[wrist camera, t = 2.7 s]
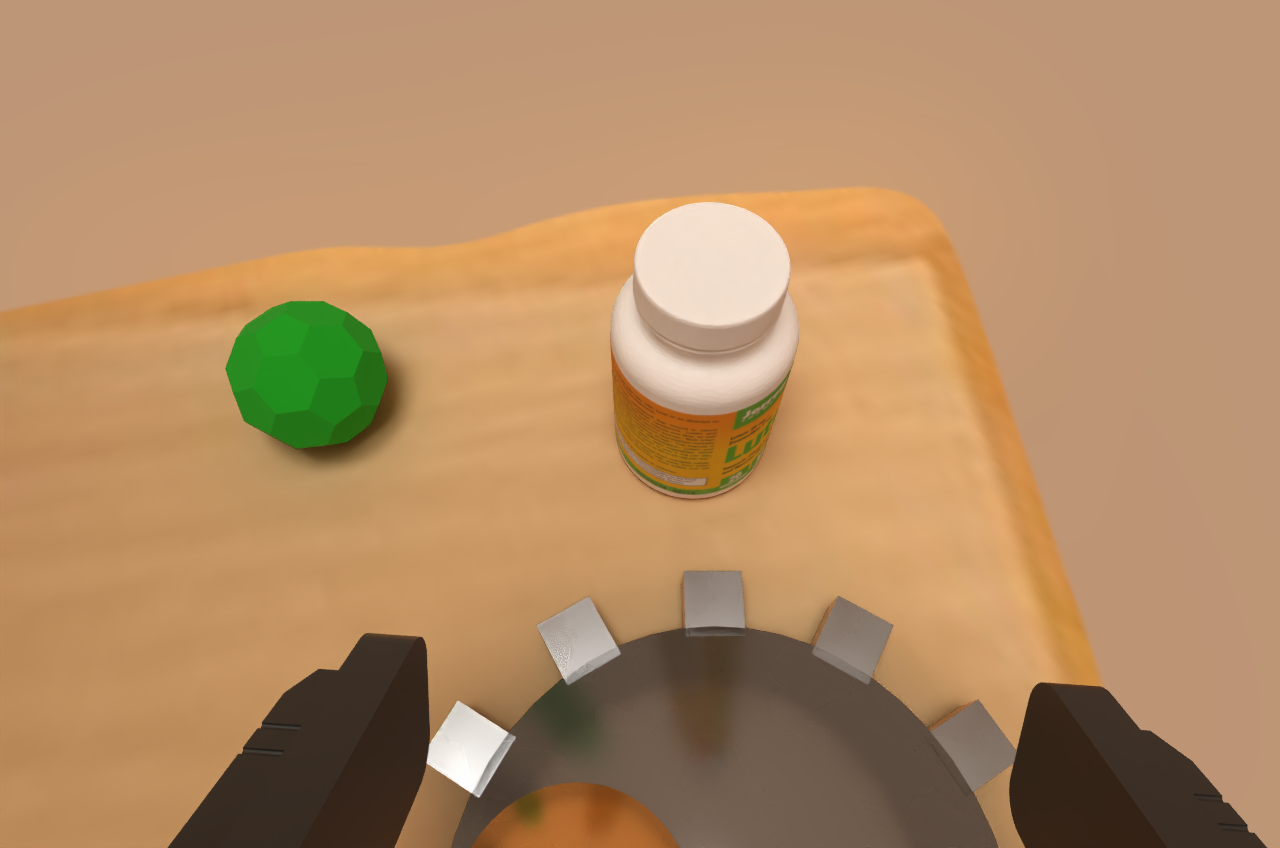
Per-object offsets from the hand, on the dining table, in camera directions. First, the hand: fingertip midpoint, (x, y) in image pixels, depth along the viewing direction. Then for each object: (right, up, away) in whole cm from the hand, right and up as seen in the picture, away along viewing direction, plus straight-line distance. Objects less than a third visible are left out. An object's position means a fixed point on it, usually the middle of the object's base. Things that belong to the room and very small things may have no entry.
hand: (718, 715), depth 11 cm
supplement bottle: (+1, +3, +18) cm, 19 cm away
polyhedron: (-12, +4, +19) cm, 23 cm away
